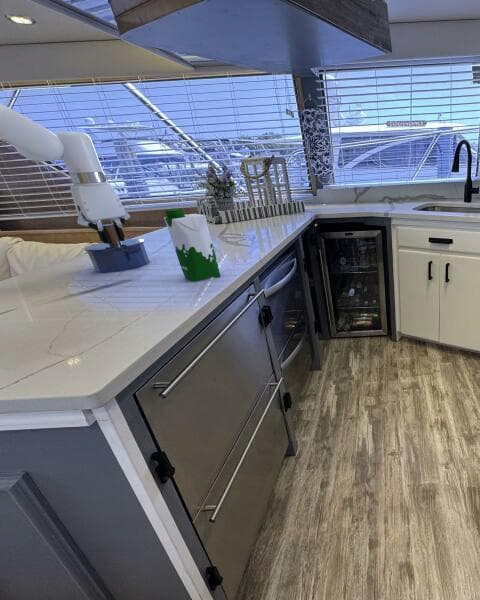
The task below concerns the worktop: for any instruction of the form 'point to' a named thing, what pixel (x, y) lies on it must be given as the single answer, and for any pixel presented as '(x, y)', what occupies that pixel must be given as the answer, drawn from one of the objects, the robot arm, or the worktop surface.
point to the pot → (119, 259)
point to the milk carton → (192, 244)
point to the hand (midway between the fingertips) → (114, 241)
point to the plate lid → (113, 241)
